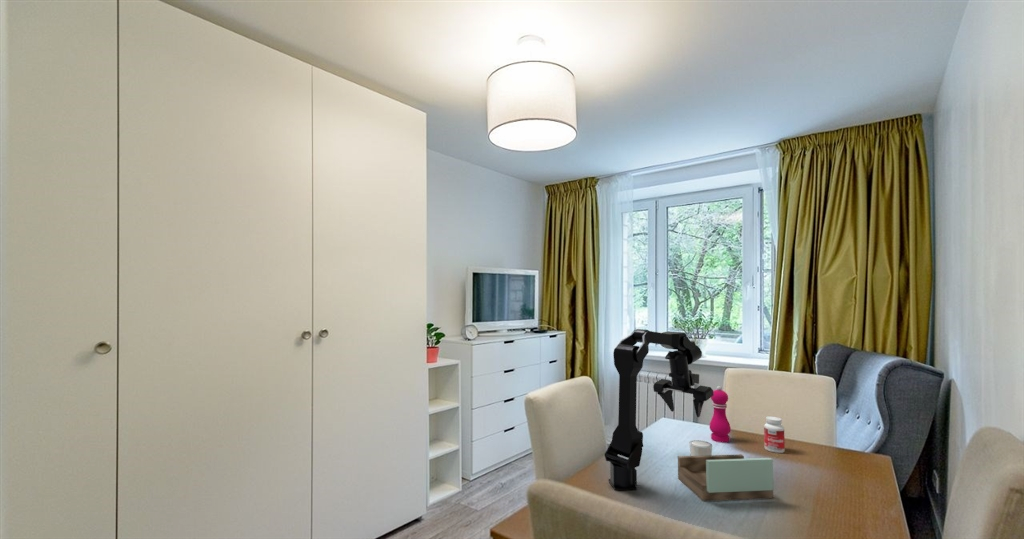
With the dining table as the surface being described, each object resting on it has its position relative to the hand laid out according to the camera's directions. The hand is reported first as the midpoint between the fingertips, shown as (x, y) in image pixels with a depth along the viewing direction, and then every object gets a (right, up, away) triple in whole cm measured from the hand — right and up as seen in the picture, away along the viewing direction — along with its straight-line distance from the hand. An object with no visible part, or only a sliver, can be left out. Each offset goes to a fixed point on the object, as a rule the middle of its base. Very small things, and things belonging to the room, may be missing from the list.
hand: (685, 413), depth 149 cm
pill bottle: (+34, -15, +7) cm, 38 cm away
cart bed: (+2, -14, -23) cm, 27 cm away
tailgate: (+2, -10, -30) cm, 32 cm away
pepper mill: (+20, -16, +18) cm, 31 cm away
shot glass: (+2, -15, -7) cm, 16 cm away
